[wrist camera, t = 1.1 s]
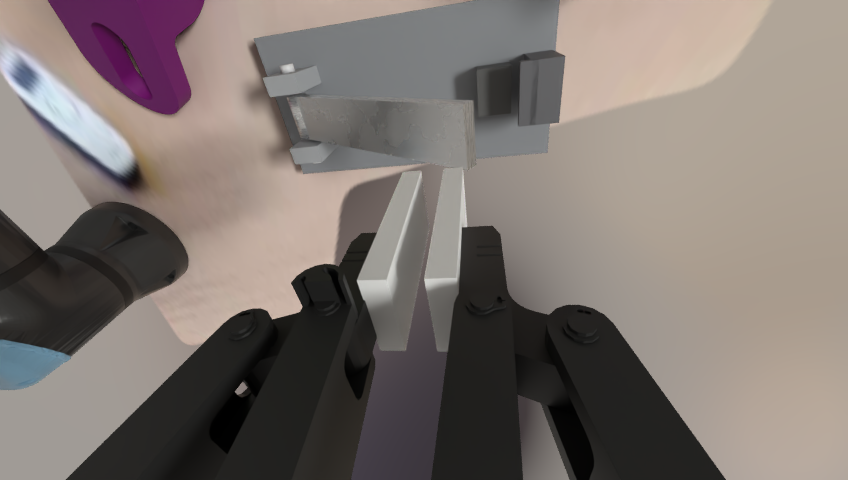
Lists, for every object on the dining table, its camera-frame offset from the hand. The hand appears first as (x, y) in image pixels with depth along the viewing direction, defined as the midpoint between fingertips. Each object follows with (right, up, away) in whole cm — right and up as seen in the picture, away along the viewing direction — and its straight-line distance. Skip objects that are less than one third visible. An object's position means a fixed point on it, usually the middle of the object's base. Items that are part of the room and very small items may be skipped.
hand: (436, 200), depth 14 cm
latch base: (-2, +14, +21) cm, 25 cm away
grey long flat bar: (-5, +8, +13) cm, 16 cm away
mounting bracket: (-28, +21, +20) cm, 40 cm away
